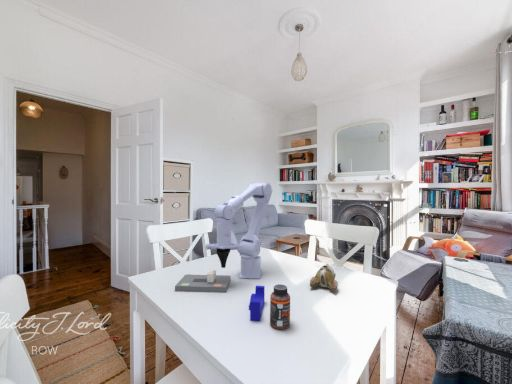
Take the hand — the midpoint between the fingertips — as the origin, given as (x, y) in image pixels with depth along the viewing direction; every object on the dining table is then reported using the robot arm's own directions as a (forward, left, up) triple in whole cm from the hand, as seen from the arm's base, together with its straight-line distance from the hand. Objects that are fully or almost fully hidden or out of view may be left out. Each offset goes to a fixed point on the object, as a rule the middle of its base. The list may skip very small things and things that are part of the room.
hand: (223, 266), depth 97 cm
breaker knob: (+5, 0, -6) cm, 7 cm away
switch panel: (+8, 0, -8) cm, 11 cm away
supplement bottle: (-22, +26, -8) cm, 35 cm away
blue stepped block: (-14, +19, -8) cm, 25 cm away
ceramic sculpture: (-42, -3, -8) cm, 43 cm away
